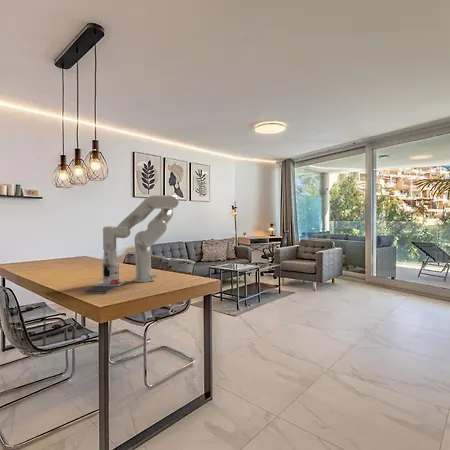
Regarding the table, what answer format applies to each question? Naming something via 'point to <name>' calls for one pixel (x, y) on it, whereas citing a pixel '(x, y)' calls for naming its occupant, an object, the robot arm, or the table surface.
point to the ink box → (112, 275)
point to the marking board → (110, 284)
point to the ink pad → (100, 290)
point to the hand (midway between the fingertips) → (110, 275)
